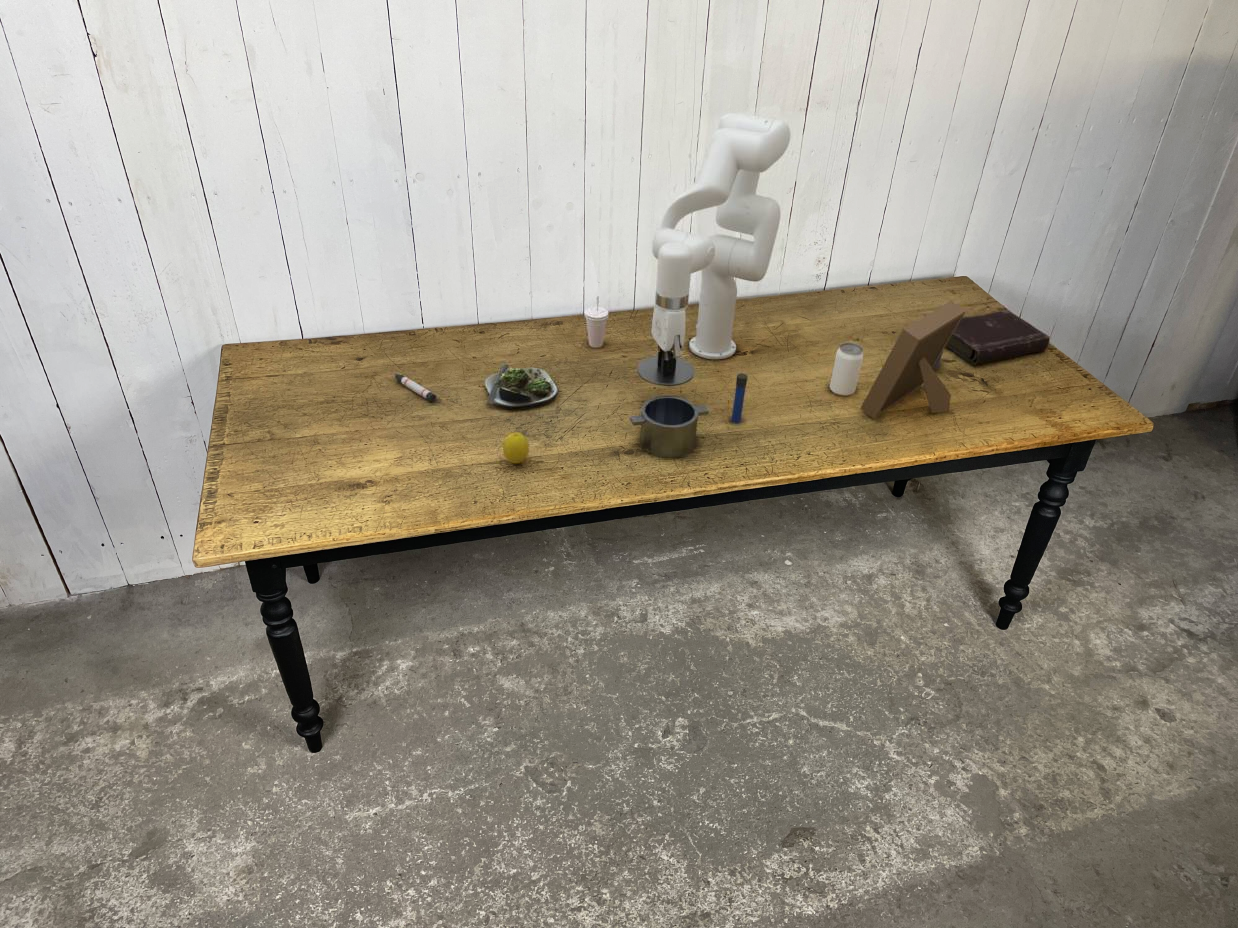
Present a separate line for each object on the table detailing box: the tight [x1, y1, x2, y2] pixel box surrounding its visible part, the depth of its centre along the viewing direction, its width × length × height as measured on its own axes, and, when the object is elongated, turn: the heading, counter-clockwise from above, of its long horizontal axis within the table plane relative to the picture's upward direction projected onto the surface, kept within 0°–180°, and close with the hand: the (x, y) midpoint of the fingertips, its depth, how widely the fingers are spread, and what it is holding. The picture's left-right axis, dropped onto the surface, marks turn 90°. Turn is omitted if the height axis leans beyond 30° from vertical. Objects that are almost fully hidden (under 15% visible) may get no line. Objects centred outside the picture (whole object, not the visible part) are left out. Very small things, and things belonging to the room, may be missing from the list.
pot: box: [629, 395, 709, 459], centre depth 196 cm, size 13×18×8 cm
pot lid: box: [637, 350, 695, 387], centre depth 205 cm, size 14×14×6 cm
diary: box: [945, 309, 1051, 366], centre depth 240 cm, size 19×25×5 cm
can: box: [829, 342, 864, 397], centre depth 216 cm, size 6×6×12 cm
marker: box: [394, 373, 437, 403], centre depth 212 cm, size 15×2×2 cm, turn 48°
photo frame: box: [859, 300, 967, 420], centre depth 206 cm, size 15×22×25 cm
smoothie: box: [584, 295, 610, 349], centre depth 230 cm, size 6×6×14 cm
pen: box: [731, 372, 748, 424], centre depth 203 cm, size 2×2×12 cm
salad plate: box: [484, 363, 558, 411], centre depth 213 cm, size 19×18×5 cm
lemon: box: [502, 432, 530, 464], centre depth 188 cm, size 6×6×8 cm
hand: (666, 368), depth 206 cm, fingers closed on pot lid, 2 cm apart
